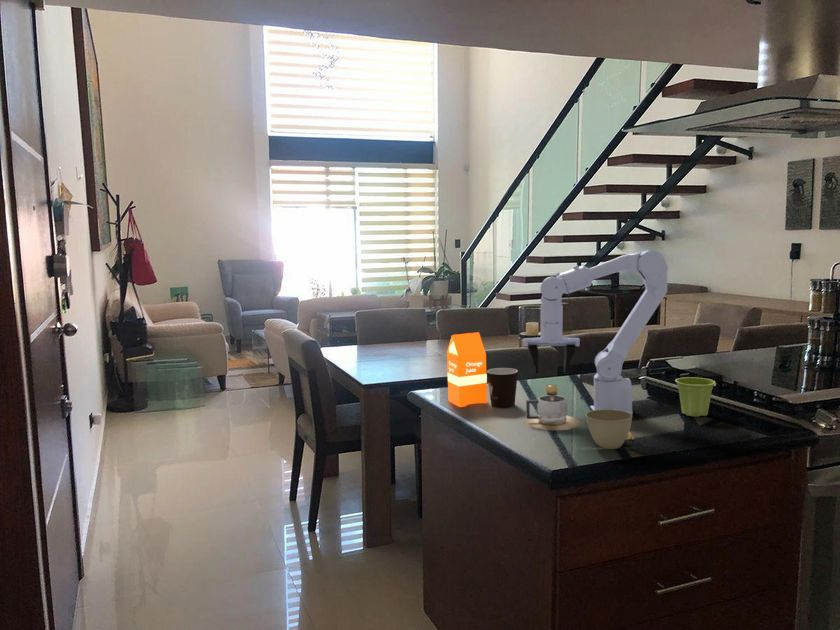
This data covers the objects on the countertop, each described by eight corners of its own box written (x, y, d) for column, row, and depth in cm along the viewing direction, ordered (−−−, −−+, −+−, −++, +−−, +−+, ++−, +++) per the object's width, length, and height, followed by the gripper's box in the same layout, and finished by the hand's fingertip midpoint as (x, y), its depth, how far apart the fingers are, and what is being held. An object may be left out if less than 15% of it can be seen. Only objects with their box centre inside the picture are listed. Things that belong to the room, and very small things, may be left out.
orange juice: (487, 403, 187) (485, 333, 185) (459, 407, 184) (457, 336, 182) (475, 397, 195) (473, 330, 192) (448, 401, 191) (445, 333, 189)
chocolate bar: (627, 427, 161) (627, 418, 161) (636, 443, 149) (636, 433, 149) (616, 427, 161) (616, 418, 161) (624, 442, 150) (624, 433, 149)
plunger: (561, 408, 167) (560, 383, 166) (564, 413, 162) (563, 387, 161) (540, 408, 168) (540, 383, 167) (543, 414, 162) (542, 388, 162)
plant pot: (678, 407, 175) (678, 375, 174) (717, 411, 170) (717, 378, 169) (671, 416, 167) (672, 383, 166) (712, 420, 162) (712, 386, 161)
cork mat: (575, 415, 172) (575, 413, 172) (585, 431, 158) (585, 429, 158) (521, 416, 173) (521, 414, 173) (527, 432, 159) (527, 430, 159)
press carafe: (564, 417, 168) (563, 394, 168) (568, 425, 161) (568, 401, 161) (525, 418, 169) (525, 395, 168) (528, 426, 162) (527, 402, 161)
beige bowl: (623, 437, 152) (623, 407, 151) (639, 451, 142) (639, 419, 141) (580, 439, 152) (580, 409, 151) (593, 454, 142) (593, 421, 141)
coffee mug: (517, 410, 178) (516, 374, 177) (485, 410, 180) (485, 374, 179) (519, 399, 190) (519, 365, 188) (490, 399, 191) (489, 365, 190)
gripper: (525, 324, 171) (525, 375, 172) (582, 324, 170) (581, 375, 171) (522, 320, 178) (522, 370, 179) (577, 320, 177) (576, 370, 178)
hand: (551, 372), depth 176 cm, fingers open, 7 cm apart
